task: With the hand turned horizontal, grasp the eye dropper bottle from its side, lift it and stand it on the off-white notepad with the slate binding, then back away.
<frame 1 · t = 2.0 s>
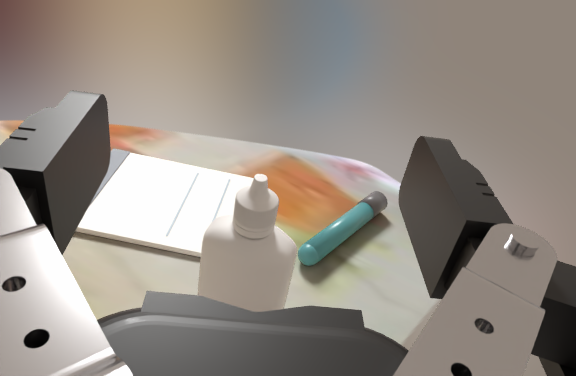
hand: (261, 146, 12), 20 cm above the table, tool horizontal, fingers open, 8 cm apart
notepad: (166, 202, 41), on the table
marker: (342, 235, 41), on the table, tilted 6°
eye dropper bottle: (237, 321, 32), on the table
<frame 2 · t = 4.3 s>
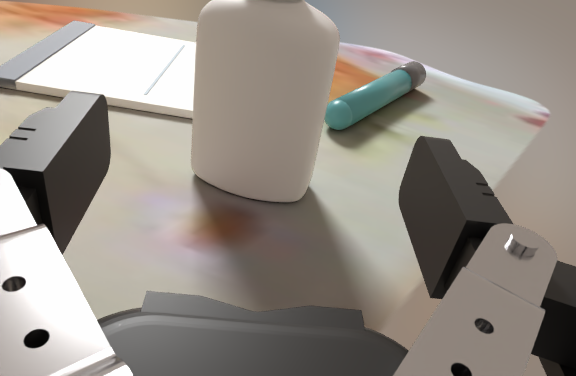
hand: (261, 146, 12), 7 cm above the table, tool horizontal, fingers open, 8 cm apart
notepad: (144, 70, 31), on the table
marker: (375, 106, 32), on the table
eye dropper bottle: (250, 182, 23), on the table
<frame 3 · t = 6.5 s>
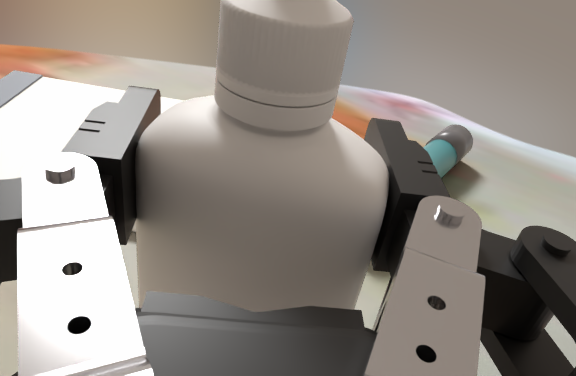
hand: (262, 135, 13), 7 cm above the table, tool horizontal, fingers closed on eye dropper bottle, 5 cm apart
notepad: (98, 147, 23), on the table
marker: (410, 193, 24), on the table
eye dropper bottle: (236, 364, 15), on the table, touching gripper
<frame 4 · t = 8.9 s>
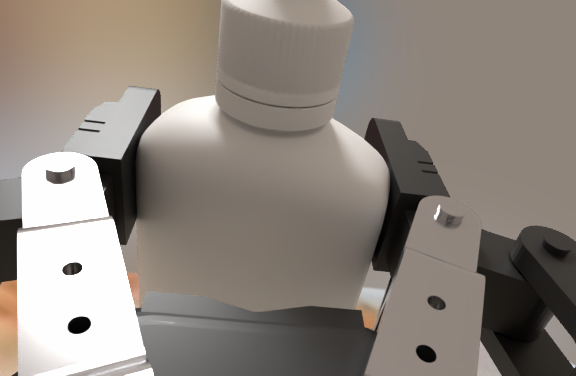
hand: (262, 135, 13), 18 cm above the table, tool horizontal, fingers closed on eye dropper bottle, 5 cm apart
eye dropper bottle: (236, 364, 15), point 11 cm above the table, touching gripper
when the fingers open (8 cm above the table, at t = 11.5 s): eye dropper bottle stays where it is, resting on notepad.
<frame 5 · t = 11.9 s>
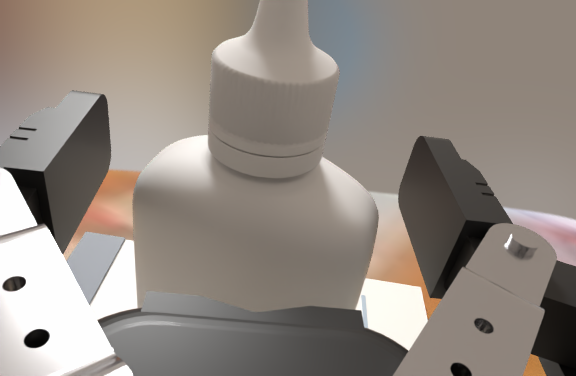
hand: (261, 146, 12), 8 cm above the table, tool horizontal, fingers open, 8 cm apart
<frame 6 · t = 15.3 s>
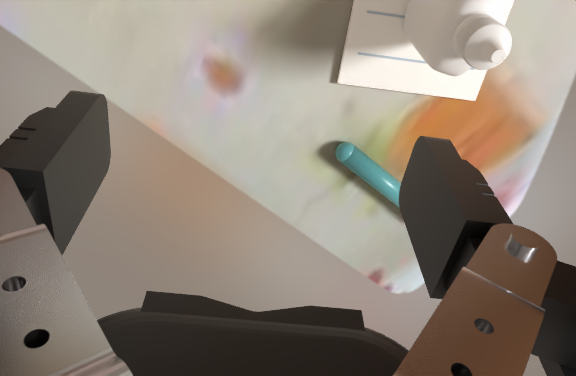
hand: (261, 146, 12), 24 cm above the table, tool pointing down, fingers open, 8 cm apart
marker: (384, 179, 42), on the table
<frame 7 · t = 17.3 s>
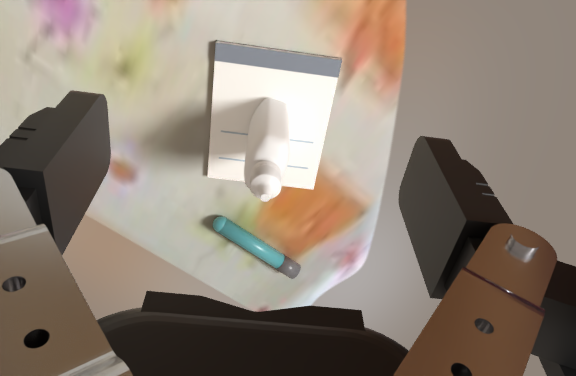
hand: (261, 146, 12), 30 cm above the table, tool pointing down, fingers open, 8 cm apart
notepad: (269, 120, 45), on the table
marker: (256, 242, 54), on the table
eye dropper bottle: (268, 123, 45), resting on notepad
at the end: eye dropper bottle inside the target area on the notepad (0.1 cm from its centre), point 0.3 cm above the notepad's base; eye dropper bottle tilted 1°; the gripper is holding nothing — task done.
